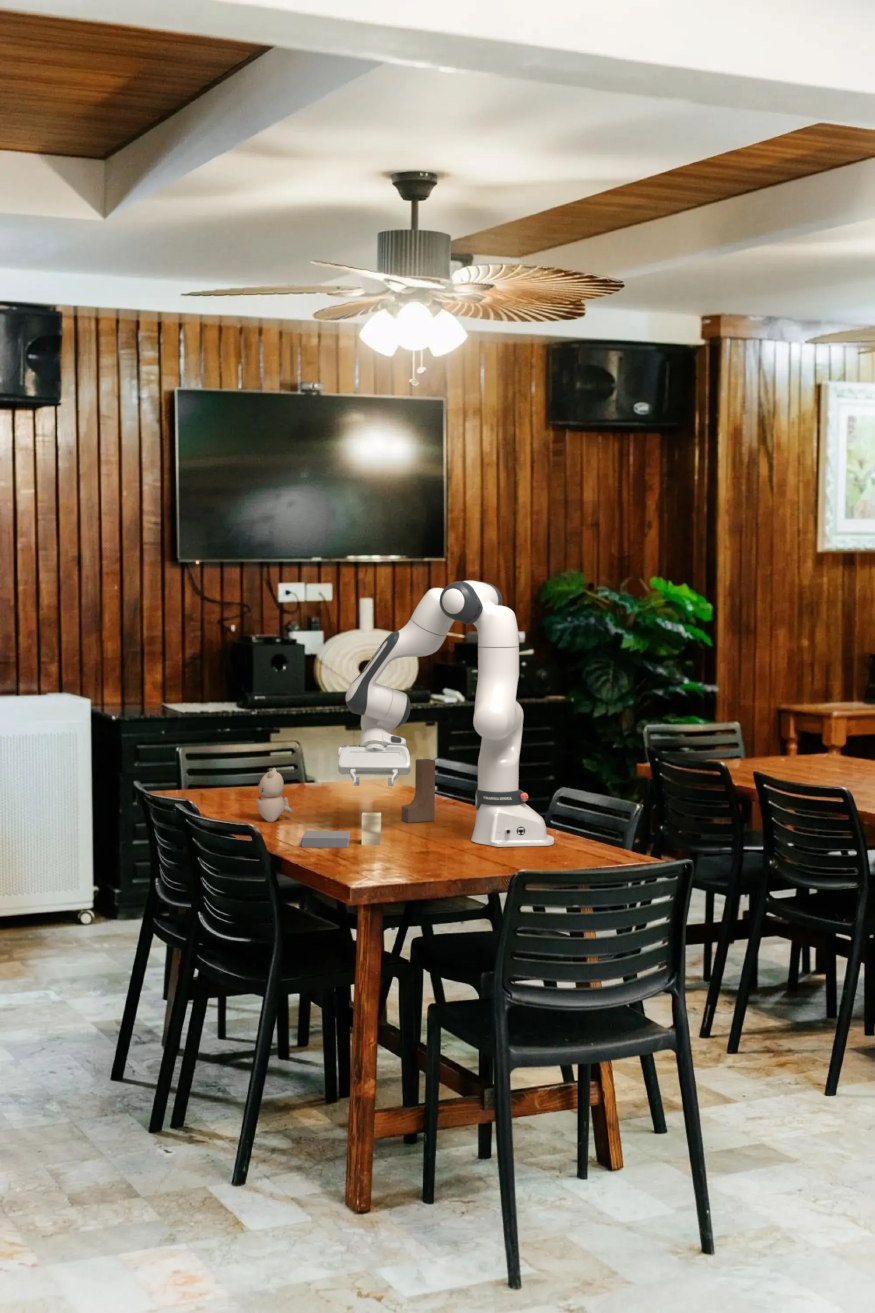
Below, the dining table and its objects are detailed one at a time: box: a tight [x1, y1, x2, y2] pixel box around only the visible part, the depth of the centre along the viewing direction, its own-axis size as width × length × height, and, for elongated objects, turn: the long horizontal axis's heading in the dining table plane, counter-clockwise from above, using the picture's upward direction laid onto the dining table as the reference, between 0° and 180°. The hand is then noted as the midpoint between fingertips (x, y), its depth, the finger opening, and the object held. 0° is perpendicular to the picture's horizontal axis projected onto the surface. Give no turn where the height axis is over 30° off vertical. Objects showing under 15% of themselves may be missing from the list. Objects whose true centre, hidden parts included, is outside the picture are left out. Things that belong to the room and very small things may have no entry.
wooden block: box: [400, 758, 436, 824], centre depth 449 cm, size 9×4×18 cm, turn 118°
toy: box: [255, 767, 294, 823], centre depth 449 cm, size 12×10×15 cm
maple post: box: [361, 812, 382, 846], centre depth 410 cm, size 5×5×8 cm
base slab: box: [301, 830, 351, 849], centre depth 409 cm, size 12×12×2 cm
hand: (373, 784), depth 422 cm, fingers open, 8 cm apart
